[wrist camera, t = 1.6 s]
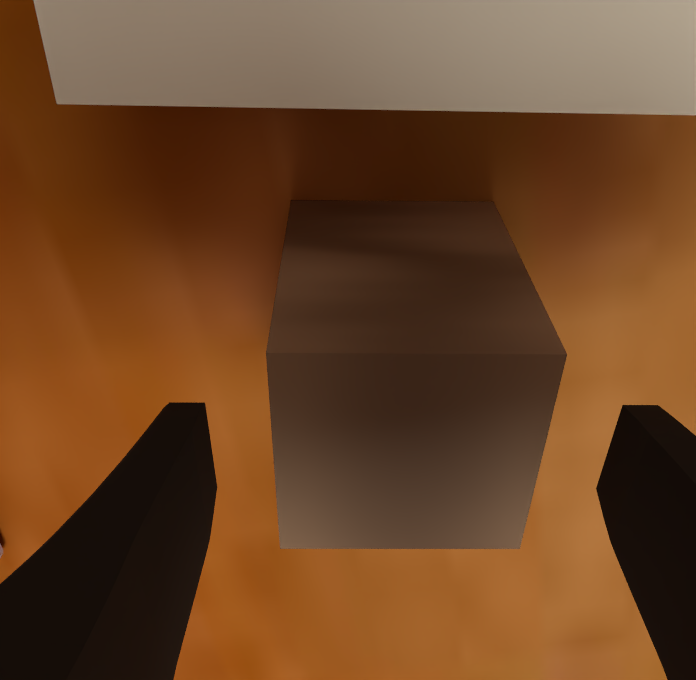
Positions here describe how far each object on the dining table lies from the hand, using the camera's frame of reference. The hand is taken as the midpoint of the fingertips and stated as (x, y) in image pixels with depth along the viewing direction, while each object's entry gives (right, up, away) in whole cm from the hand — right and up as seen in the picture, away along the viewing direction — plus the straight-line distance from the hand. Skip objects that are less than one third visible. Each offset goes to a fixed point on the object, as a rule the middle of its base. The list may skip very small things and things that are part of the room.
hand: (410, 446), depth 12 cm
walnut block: (0, +3, +5) cm, 6 cm away
